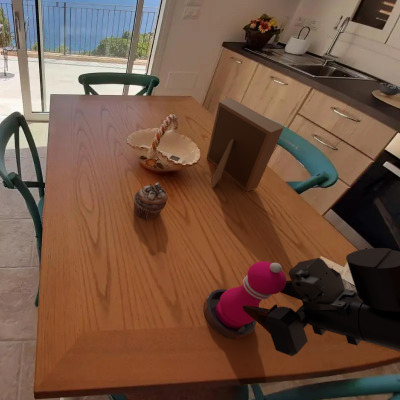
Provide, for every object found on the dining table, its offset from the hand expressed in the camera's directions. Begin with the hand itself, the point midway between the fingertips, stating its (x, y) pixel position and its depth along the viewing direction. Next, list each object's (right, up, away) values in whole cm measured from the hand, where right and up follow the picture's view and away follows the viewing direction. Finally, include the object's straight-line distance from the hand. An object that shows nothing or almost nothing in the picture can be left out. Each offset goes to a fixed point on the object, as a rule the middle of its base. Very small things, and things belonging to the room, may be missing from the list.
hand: (257, 296), depth 52 cm
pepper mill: (-1, -7, +8) cm, 11 cm away
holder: (-1, -7, +9) cm, 11 cm away
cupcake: (-14, +15, +32) cm, 38 cm away
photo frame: (+17, +28, +48) cm, 59 cm away
